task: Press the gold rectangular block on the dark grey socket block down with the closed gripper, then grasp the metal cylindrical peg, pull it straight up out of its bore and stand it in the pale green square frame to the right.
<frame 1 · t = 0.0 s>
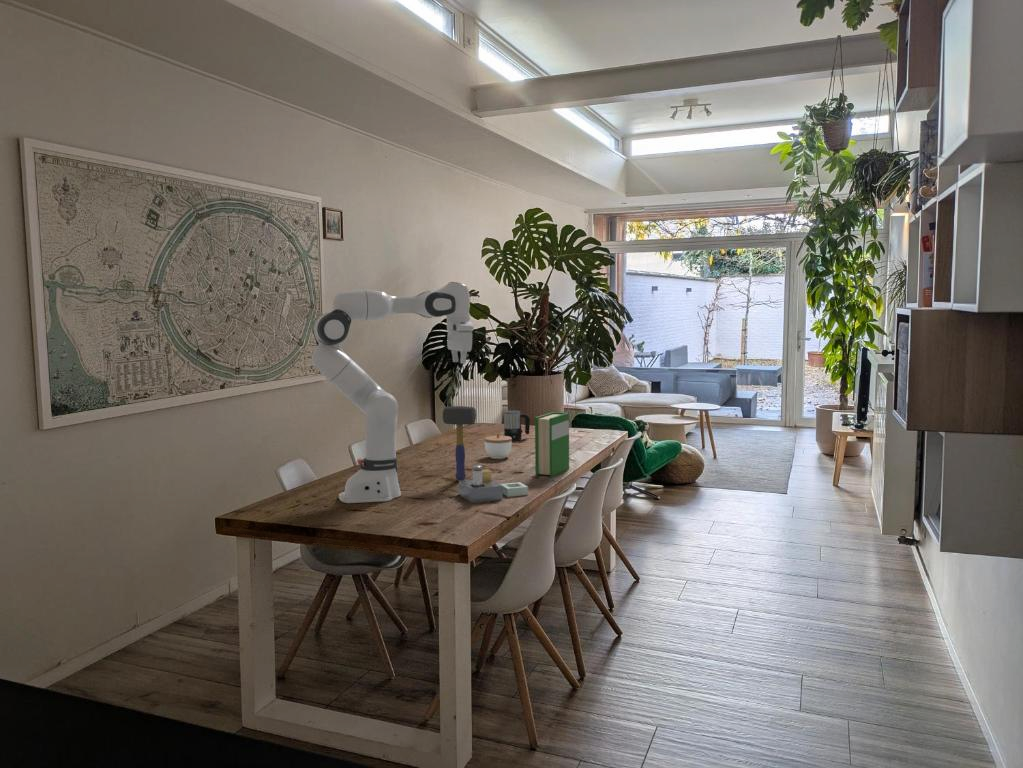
hand: (459, 362, 290), 48 cm above the table, fingers open, 8 cm apart
pale green square frame: (513, 493, 285), on the table
gold rectangular block: (484, 478, 285), point 6 cm above the table, slide at 0.0 cm
hardback book: (552, 472, 321), on the table
rubber mallet: (460, 481, 307), on the table
socket block: (480, 496, 280), on the table
milk frother: (513, 438, 405), on the table
lidded bowl: (498, 457, 354), on the table
metal cylindrical peg: (477, 499, 277), resting in socket block
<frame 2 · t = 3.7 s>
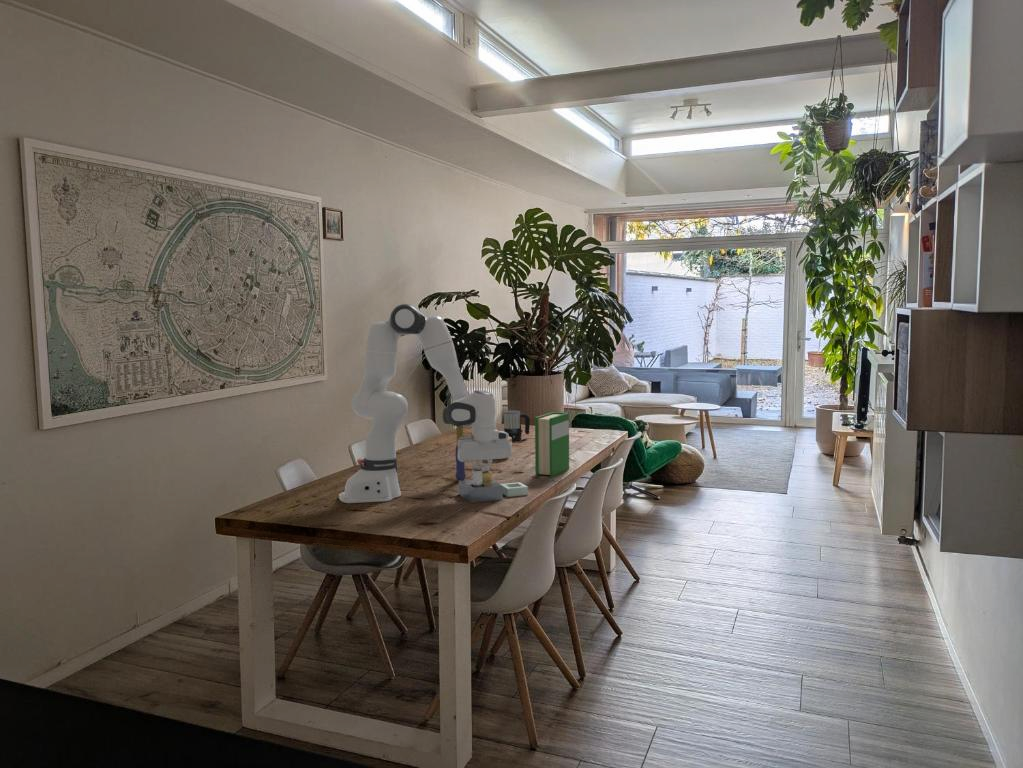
hand: (485, 471, 285), 8 cm above the table, fingers closed, pressing on gold rectangular block
gold rectangular block: (484, 479, 285), point 5 cm above the table, slide at 0.5 cm, touching gripper
everything else where it was.
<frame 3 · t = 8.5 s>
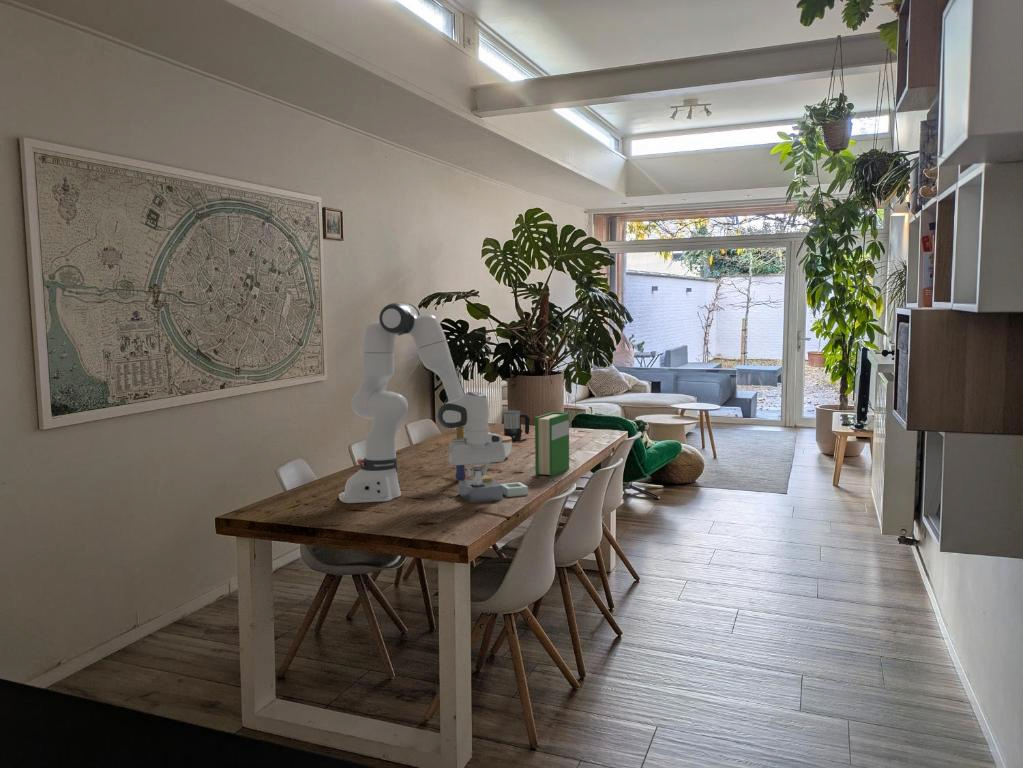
hand: (477, 475, 276), 9 cm above the table, fingers closed on metal cylindrical peg, 3 cm apart
gold rectangular block: (484, 485, 285), point 3 cm above the table, slide at 2.5 cm
metal cylindrical peg: (478, 499, 277), resting in socket block, touching gripper
everything else where it was.
when the fingers open (11 cm above the table, at t = 14.4 s): metal cylindrical peg drops 2 cm, resting in pale green square frame.
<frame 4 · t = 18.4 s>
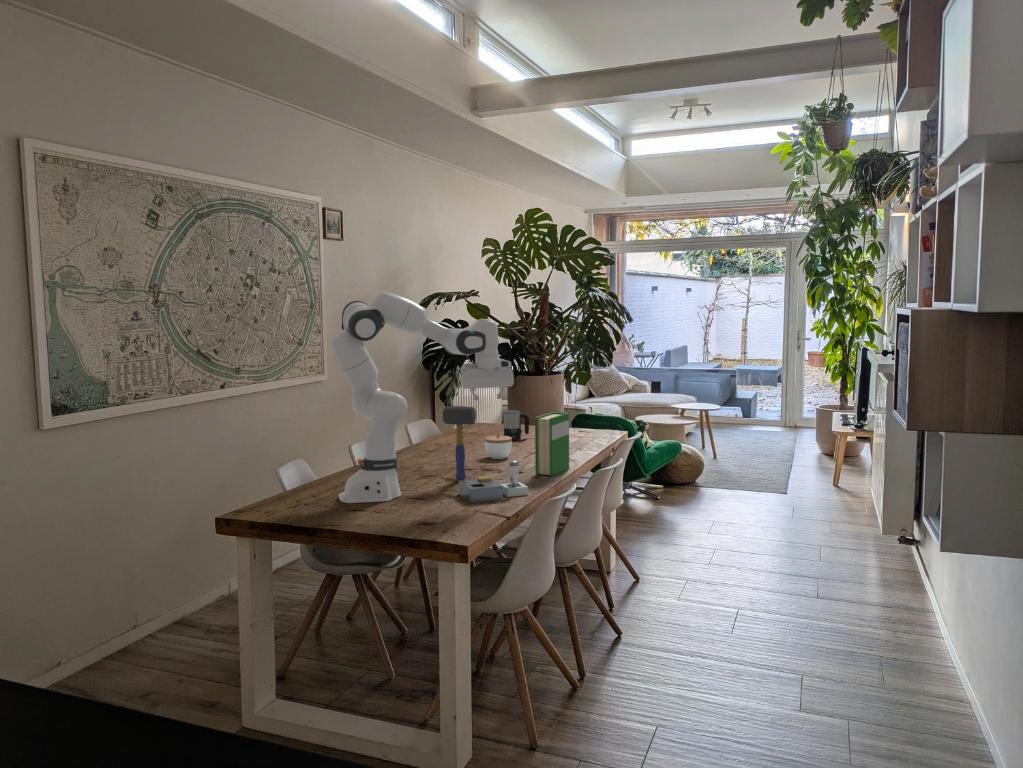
hand: (487, 399, 290), 34 cm above the table, fingers open, 8 cm apart
metal cylindrical peg: (514, 493, 285), resting in pale green square frame
everything else where it was.
at the end: gold rectangular block slide at 2.5 cm; metal cylindrical peg 0.1 cm off-centre on the pale green square frame, point 0.0 cm above the pale green square frame's base; metal cylindrical peg tilted 0° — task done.
